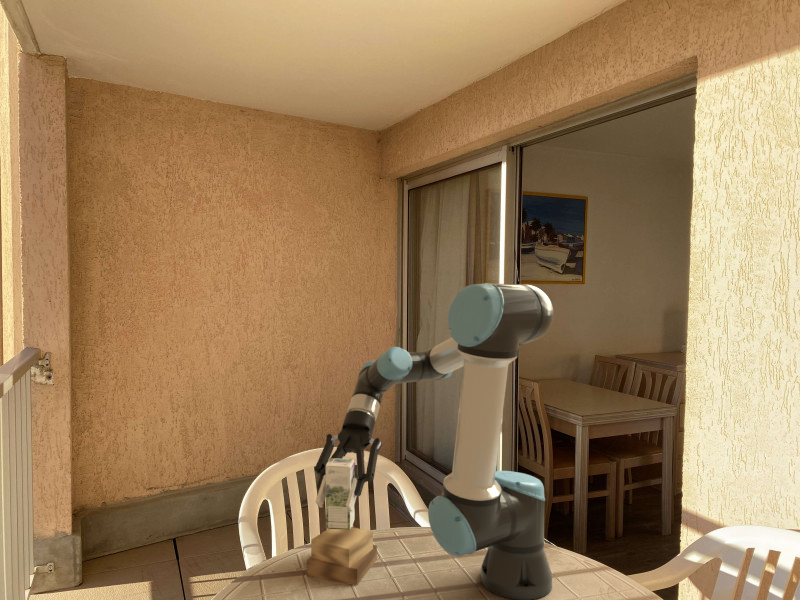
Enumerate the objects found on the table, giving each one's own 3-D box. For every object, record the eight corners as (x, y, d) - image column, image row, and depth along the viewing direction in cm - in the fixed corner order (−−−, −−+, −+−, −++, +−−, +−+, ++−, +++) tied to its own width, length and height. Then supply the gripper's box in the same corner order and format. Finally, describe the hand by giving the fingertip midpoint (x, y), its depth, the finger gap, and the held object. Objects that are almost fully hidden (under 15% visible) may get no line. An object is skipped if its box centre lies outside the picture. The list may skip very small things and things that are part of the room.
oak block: (372, 549, 130) (372, 531, 130) (349, 567, 122) (349, 549, 121) (336, 540, 135) (336, 523, 135) (311, 557, 126) (311, 539, 126)
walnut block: (376, 562, 132) (376, 545, 132) (357, 587, 121) (357, 568, 121) (330, 555, 136) (330, 538, 136) (306, 578, 125) (306, 560, 125)
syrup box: (355, 520, 131) (355, 457, 131) (350, 530, 125) (350, 465, 125) (330, 519, 131) (330, 456, 131) (324, 529, 125) (324, 464, 125)
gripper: (402, 428, 140) (379, 519, 124) (329, 422, 145) (299, 509, 130) (395, 411, 134) (371, 503, 119) (320, 406, 140) (288, 493, 125)
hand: (333, 506), depth 125 cm, fingers closed on syrup box, 7 cm apart
